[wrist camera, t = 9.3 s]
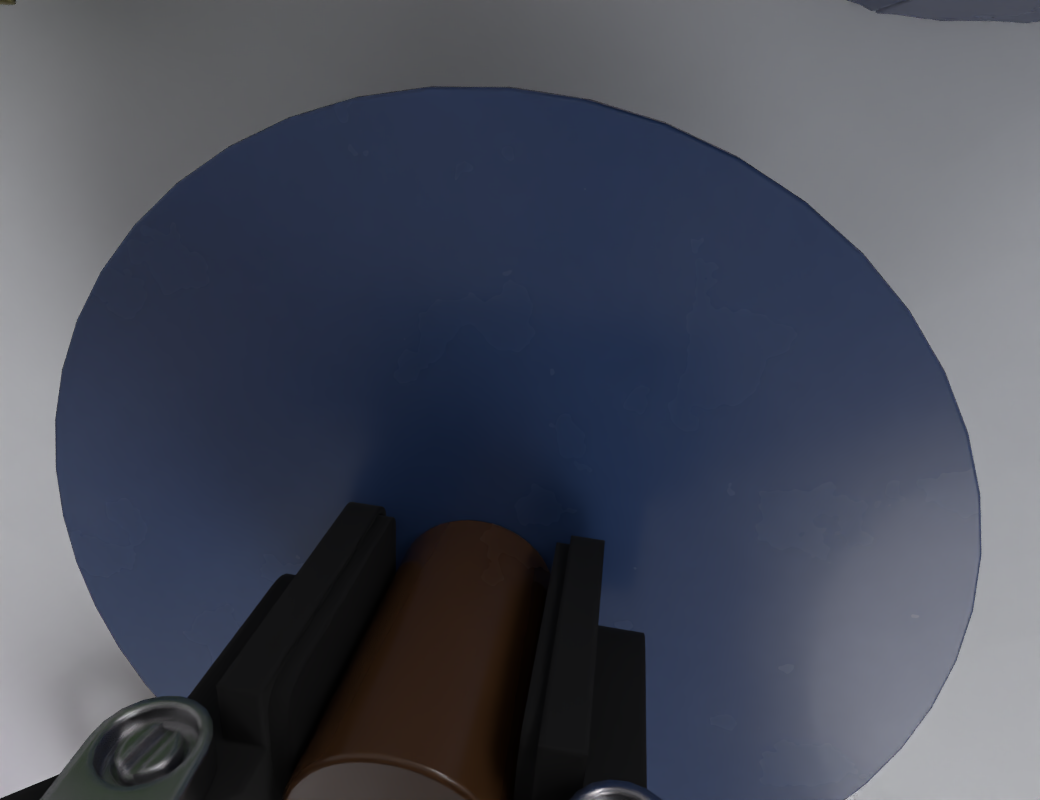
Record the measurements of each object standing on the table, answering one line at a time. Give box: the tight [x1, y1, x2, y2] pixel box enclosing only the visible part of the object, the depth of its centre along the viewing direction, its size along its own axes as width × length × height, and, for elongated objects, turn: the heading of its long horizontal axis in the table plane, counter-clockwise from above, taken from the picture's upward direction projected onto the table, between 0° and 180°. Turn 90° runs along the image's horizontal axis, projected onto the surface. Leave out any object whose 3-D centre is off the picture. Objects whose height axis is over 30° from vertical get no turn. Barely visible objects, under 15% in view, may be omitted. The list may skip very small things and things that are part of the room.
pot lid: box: [55, 86, 981, 800], centre depth 10 cm, size 15×15×6 cm
